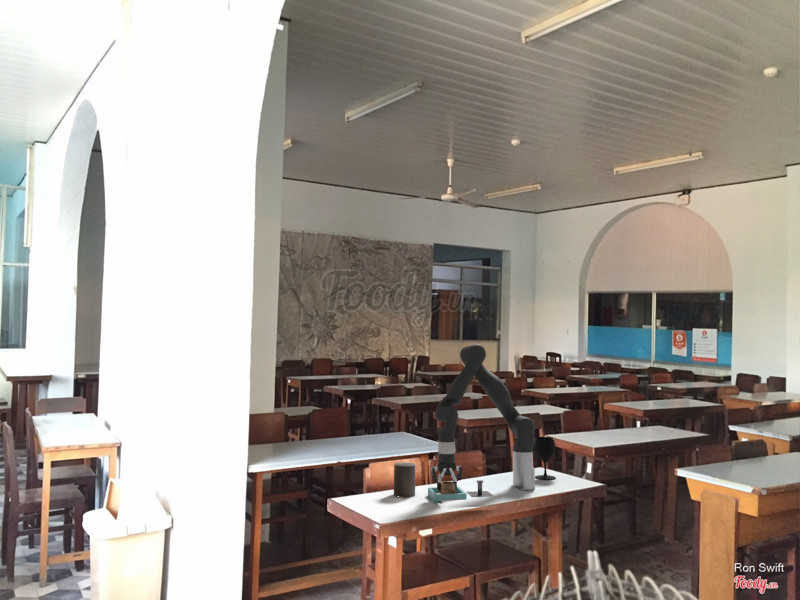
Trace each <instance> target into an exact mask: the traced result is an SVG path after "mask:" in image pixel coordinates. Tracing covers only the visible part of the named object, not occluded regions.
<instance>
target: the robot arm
mask: <svg viewBox="0 0 800 600" xmlns="http://www.w3.org/2000/svg"><path fill="white" fill-rule="evenodd" d="M459 356H460V360H461V361H462V363H463V364H464V367H463V369H461V372H459V374H458V375H457V376H456V377H455V379H453V381H452V383H451V384H450V387H449V389H448V391H447V393H446V395H445V396H444V398H442V399H441V401H439V403H438V405H437V406H436V408H435V410H434V416H435V417H434V418H435V419H436V420H437V421H438V422H441V423H442V422H444V423H445V424H444V426H442V427H440V428H439V429H438V444H437V459H438V460H437V466H431V467H430V470H431V471H430V472H431V476H432V477H431V478H432V480H433V482H436V487H437V489H438V491H441V482H440V481H442V479H443V477H445V476H451V478H452V481H453V483H455V490H456V489H457V487H458V482H459V481H461V480H462V476H463V475H462V474H463V466H462V465H456V442H455V441H456V440H455V435H456V434H455V432H456V429H457V428H456V427H457V425H458V420H459V412H458V409H457V408H456V407H455V406H457V405H460V403H461V402H462V401H463V398H464V395H465V393H466V391H467V388H468V387H469V385H470V383H471V381H472V380H473V379H474V377H475V379H476V381H477V382H478V384H479V385H480V386H481V387H482V388H483V390H484V392H485V393H486V395H487V396H488V397H489V399H490V400H491V402H492V403H493V404H494V406H495V407H496V409H497V410H498V411H499V413H500V414H501V415H502V417H503V419H504V421H505V422H506V424H507V426H508V429H509V430H510V431H511V433H512V434H514V435H516V442H515V443H514V444H513V445H512V485H513V487H514V488H516V489H518V490H519V491H531V490H535V489H536V481H535V480H536V478H535V476H536V475H535V468H534V446H535V440H536V435H535V433H536V431H535V430H536V428H535V422H534V421H533V420H532V419H531V418H530V417H527V416H522V415H521V414H520V412H519V411H518V410H517V409H516V408H515V405H514V403H513V401H512V397H511V393H510V391H509V389H508V387H507V386H506V385H505V383H504V382H503V381H502V380H501V378H499V377H498V376H497V375H495V374H494V373H493V372H491V371H490V370H489V369H488V368H486V367H485V364H483V363H484V361H485V359H486V357H487V352H486V349H485V347H484V346H483V345H481V344H478V343H476V344H470V345H467V346H464V347H462V348H461V349H460V352H459ZM437 470H438V471H439V473H438V474H437ZM455 471H457V474H455ZM436 474H437V475H438V476H437V475H436ZM456 475H457V477H456Z"/></svg>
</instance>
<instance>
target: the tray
mask: <svg viewBox="0 0 800 600" xmlns="http://www.w3.org/2000/svg"><path fill="white" fill-rule="evenodd" d="M467 495H468V493H467V492H465V491H464V490H463V488H461V487H459V486H457V489H456V490H455V494H440V493H439V491H438V489H437V486H436V487H435V486H433V487H427V497H429V499H430V500H431V501H432V502H433V503H434V504H442V500H464V499H465V500H467Z"/></svg>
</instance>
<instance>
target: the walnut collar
mask: <svg viewBox="0 0 800 600" xmlns="http://www.w3.org/2000/svg"><path fill="white" fill-rule="evenodd" d="M440 482H441V491H439V493H438V494H456V492H455V483H453V480H448V481H447V480H441V481H440Z"/></svg>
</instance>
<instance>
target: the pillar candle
mask: <svg viewBox="0 0 800 600" xmlns="http://www.w3.org/2000/svg"><path fill="white" fill-rule="evenodd" d="M394 495H396V496H395V497H397V496H399V497H398V498H412V497H411V496H413V497H414V495H415V496H416V463H414V462H407V461H401V462H395V463H394V465H393V496H394Z"/></svg>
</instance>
